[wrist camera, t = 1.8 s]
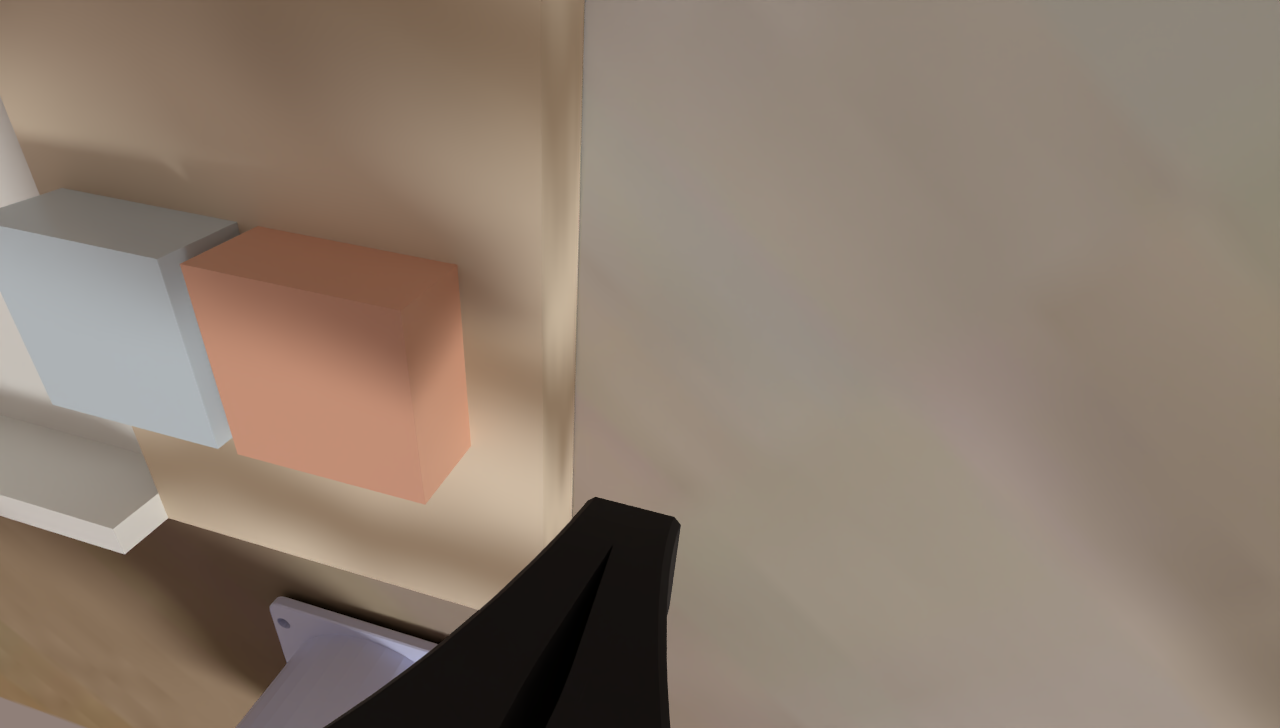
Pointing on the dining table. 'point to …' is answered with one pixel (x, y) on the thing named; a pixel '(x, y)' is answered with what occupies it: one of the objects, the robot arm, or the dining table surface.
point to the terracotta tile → (336, 358)
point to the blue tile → (114, 309)
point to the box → (63, 433)
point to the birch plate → (349, 226)
